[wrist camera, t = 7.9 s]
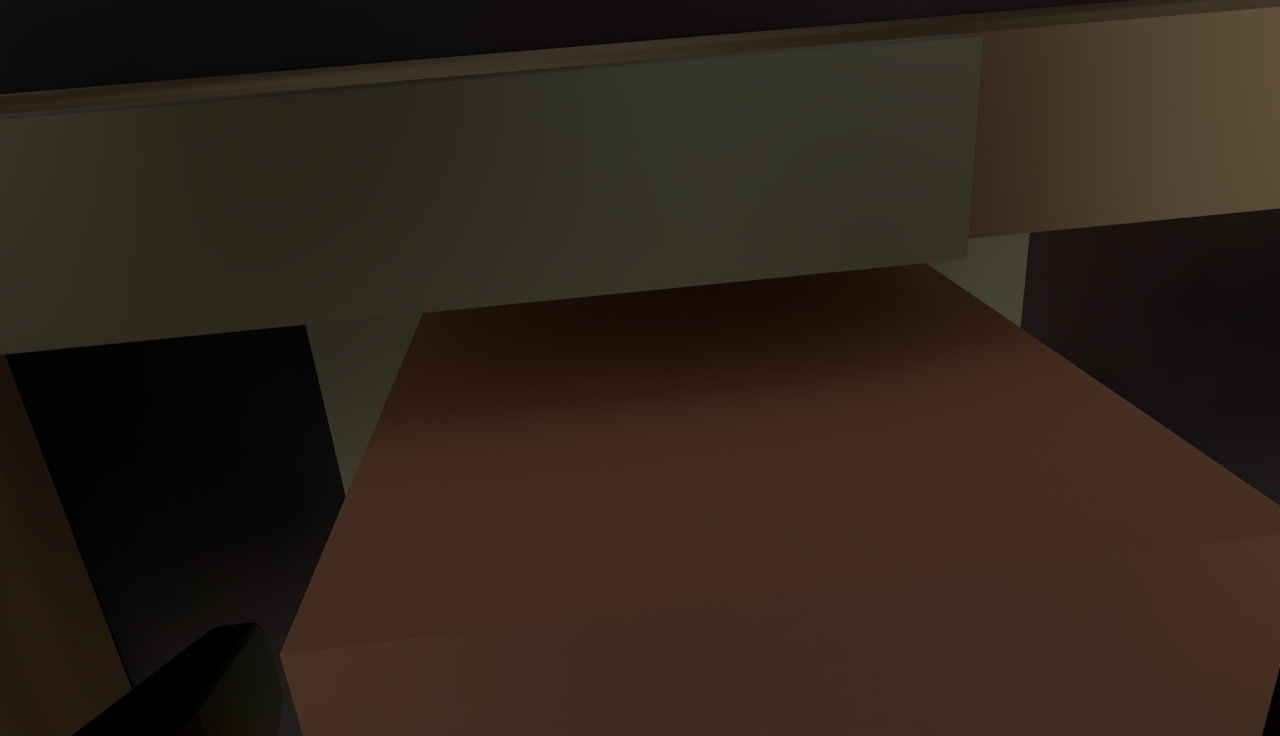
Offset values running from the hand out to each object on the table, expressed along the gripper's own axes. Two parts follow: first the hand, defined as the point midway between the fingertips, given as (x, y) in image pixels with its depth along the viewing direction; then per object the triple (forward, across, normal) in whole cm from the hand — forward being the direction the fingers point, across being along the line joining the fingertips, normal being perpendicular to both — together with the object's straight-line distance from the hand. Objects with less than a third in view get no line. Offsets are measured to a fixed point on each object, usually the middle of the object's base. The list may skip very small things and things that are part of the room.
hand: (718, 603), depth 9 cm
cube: (+2, 0, 0) cm, 2 cm away
